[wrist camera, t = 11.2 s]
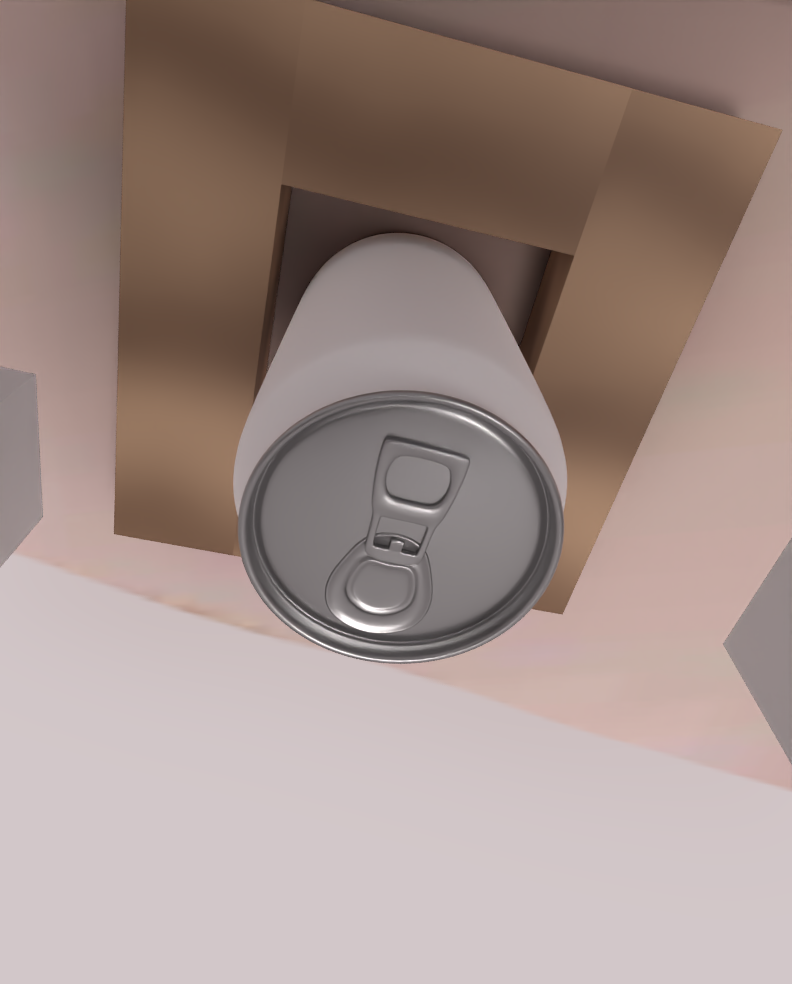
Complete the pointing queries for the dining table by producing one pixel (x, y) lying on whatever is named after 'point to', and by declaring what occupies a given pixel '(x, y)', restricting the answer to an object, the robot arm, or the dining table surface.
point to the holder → (407, 190)
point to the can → (399, 462)
